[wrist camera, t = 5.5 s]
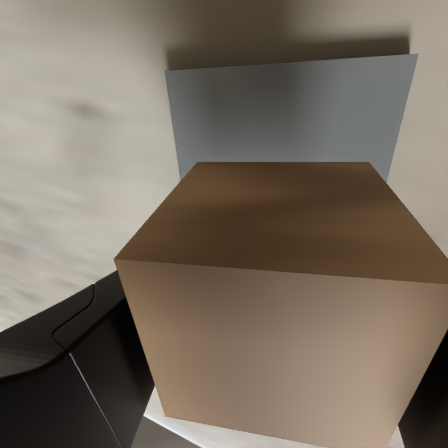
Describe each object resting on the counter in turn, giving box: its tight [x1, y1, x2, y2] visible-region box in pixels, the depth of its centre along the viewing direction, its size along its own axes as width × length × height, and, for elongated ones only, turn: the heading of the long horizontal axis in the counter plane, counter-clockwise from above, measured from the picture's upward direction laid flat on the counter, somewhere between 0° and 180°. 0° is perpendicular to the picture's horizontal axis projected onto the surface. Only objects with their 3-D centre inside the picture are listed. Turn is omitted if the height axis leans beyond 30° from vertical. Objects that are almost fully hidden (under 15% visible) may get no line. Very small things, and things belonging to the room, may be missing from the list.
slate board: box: [165, 54, 418, 182], centre depth 14 cm, size 10×10×1 cm
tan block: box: [114, 162, 448, 448], centre depth 7 cm, size 5×5×5 cm
